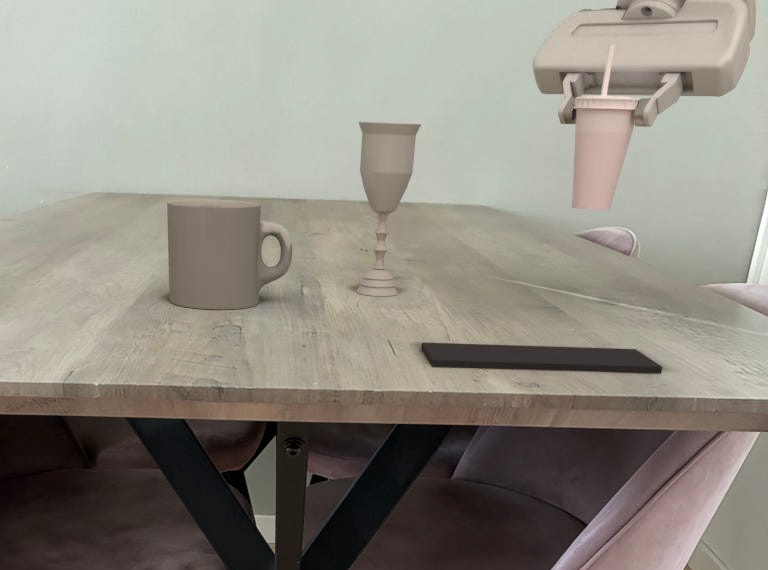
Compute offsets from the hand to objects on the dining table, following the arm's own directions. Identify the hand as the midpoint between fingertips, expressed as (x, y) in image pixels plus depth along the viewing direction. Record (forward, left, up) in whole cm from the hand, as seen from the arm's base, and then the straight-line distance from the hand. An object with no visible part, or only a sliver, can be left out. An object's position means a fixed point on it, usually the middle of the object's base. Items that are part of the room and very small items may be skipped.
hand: (603, 120), depth 92 cm
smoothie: (0, -1, -8) cm, 8 cm away
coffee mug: (+25, +27, -19) cm, 42 cm away
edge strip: (-11, +16, -19) cm, 27 cm away
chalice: (+24, +7, -19) cm, 32 cm away
